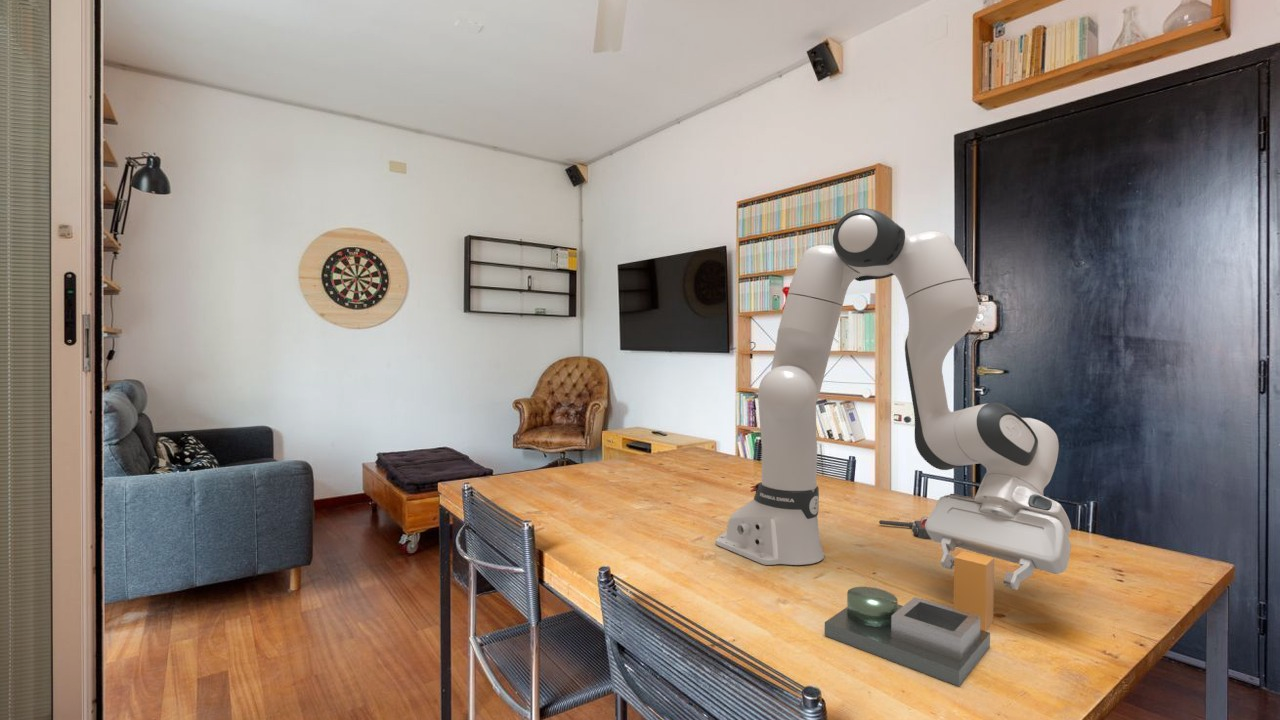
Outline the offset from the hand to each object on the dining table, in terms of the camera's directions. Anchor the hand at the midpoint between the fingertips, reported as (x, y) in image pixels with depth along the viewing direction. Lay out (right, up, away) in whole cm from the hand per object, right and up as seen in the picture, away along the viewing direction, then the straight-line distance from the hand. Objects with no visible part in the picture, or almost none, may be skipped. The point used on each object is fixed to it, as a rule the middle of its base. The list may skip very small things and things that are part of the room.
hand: (976, 576), depth 90 cm
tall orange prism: (-1, -7, 0) cm, 7 cm away
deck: (-14, -7, -7) cm, 17 cm away
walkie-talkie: (+14, -7, +43) cm, 46 cm away
